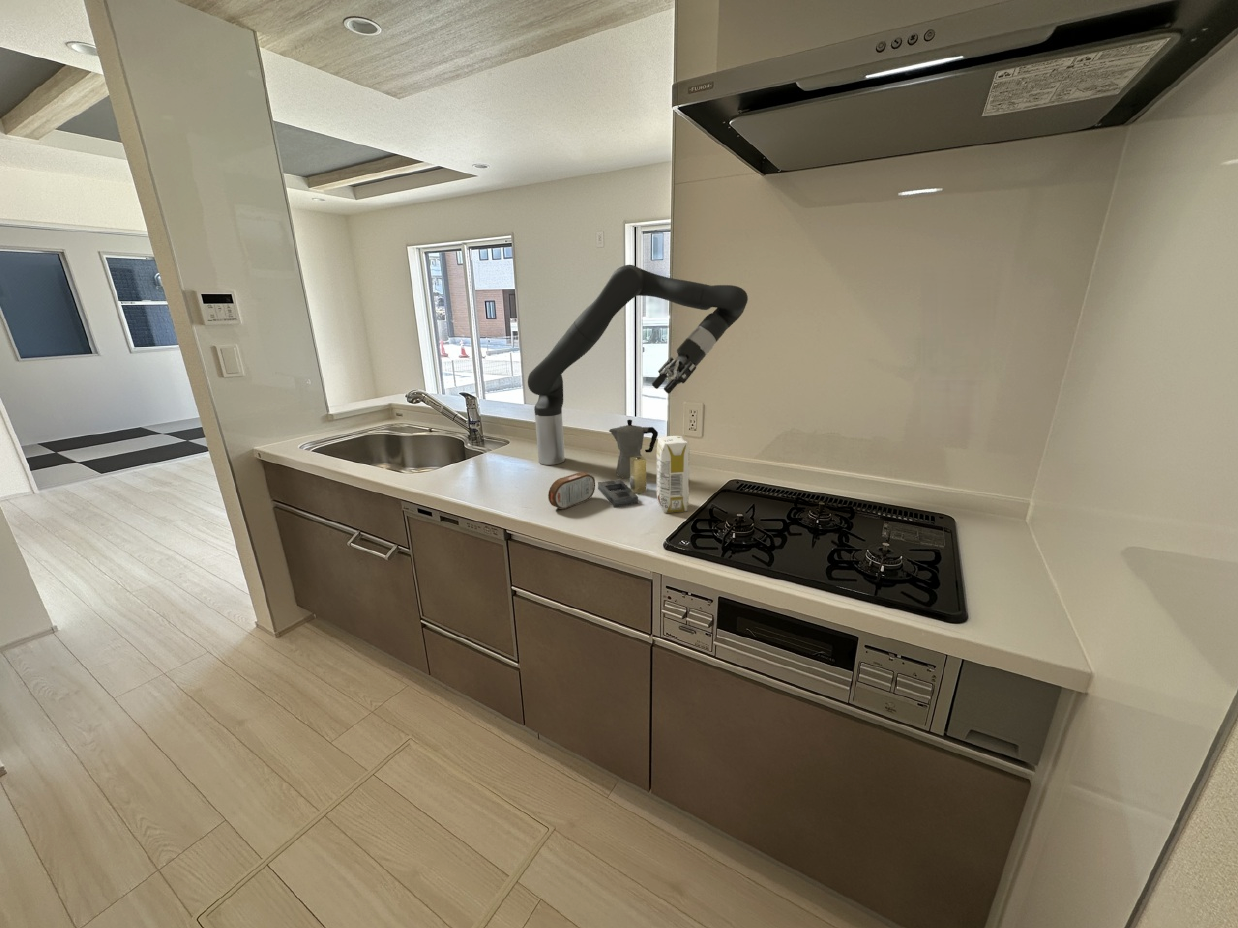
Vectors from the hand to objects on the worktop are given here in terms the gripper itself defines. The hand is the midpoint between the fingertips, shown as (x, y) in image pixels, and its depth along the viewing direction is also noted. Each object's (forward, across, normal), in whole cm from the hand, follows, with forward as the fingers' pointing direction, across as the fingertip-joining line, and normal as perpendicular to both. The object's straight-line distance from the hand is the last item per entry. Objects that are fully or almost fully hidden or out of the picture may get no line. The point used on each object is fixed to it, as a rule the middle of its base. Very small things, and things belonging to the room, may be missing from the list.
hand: (659, 389), depth 140 cm
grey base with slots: (+31, +6, +9) cm, 33 cm away
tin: (+41, +7, 0) cm, 41 cm away
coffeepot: (+24, -10, +17) cm, 31 cm away
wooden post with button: (+26, +4, +14) cm, 30 cm away
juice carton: (+24, +19, +17) cm, 35 cm away
